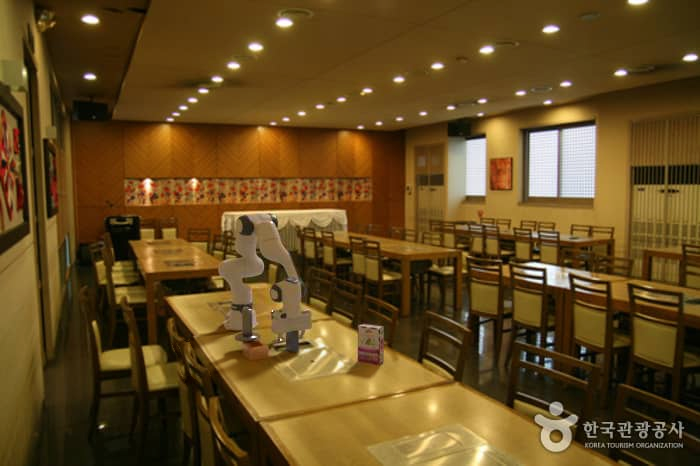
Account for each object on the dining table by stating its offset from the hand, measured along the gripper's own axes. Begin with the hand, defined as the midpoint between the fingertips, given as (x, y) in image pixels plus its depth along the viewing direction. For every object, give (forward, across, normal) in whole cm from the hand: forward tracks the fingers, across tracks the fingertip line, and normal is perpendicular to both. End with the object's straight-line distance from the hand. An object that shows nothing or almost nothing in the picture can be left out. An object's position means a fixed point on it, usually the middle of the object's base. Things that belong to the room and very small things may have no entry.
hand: (292, 340), depth 257 cm
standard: (+5, +18, -7) cm, 20 cm away
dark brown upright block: (+5, 0, 0) cm, 5 cm away
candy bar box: (+5, -24, +32) cm, 40 cm away
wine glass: (+5, -1, -18) cm, 19 cm away
